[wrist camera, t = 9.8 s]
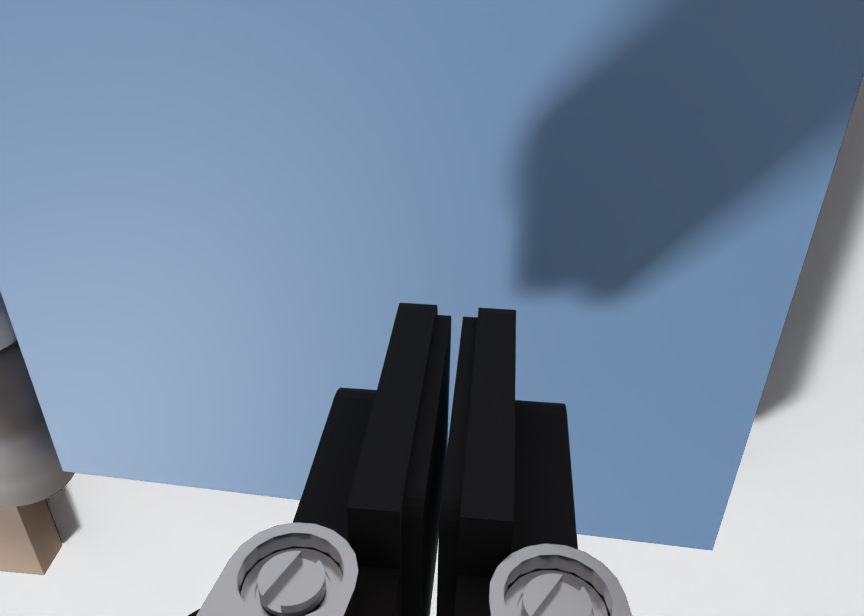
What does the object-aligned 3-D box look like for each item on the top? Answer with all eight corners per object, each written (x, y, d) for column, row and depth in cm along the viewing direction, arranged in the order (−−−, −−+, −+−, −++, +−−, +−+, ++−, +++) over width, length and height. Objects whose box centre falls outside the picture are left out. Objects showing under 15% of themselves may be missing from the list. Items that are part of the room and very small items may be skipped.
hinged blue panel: (-215, -166, 12) (-339, -162, 10) (885, -142, 10) (946, -131, 9) (7, 415, 19) (-48, 475, 17) (701, 495, 17) (716, 570, 15)
